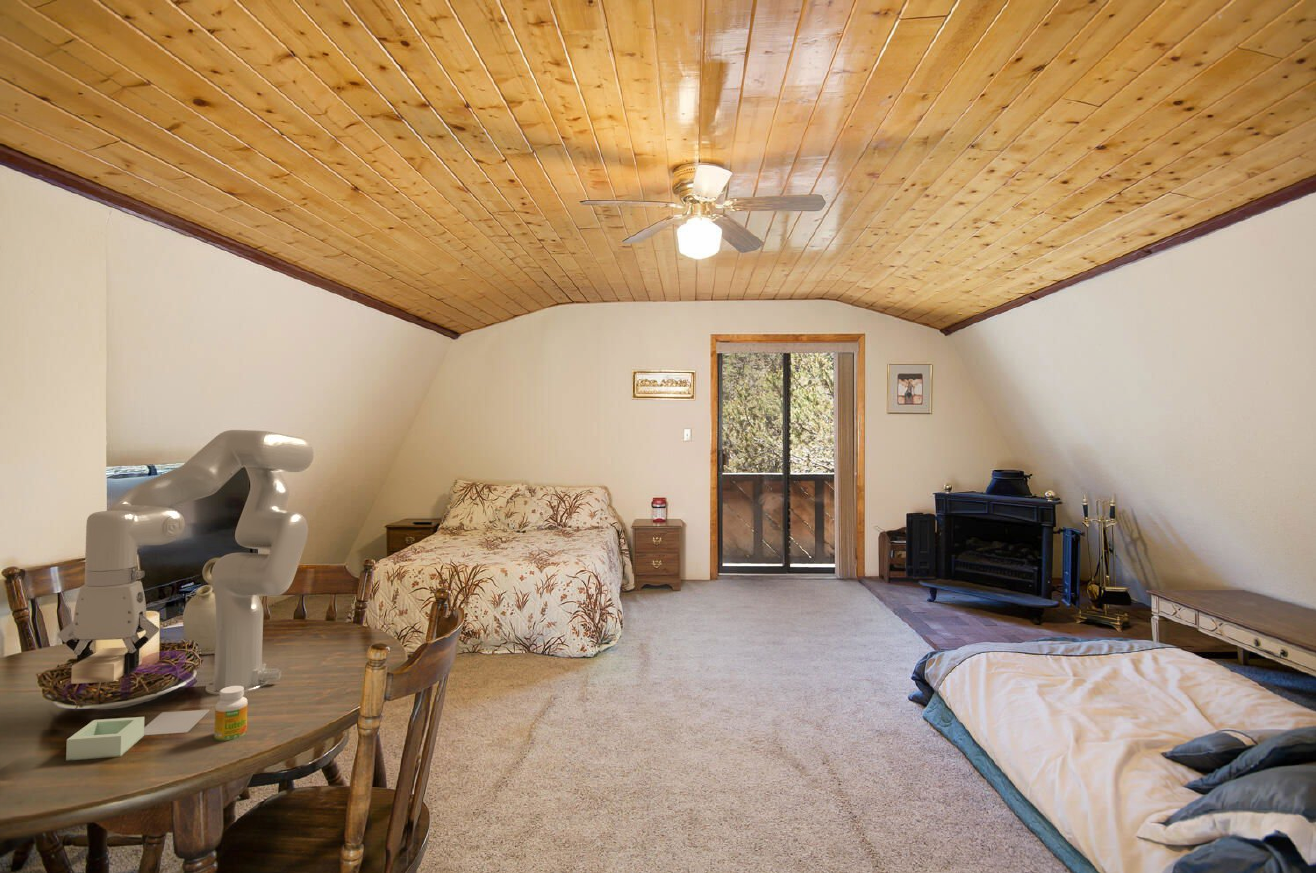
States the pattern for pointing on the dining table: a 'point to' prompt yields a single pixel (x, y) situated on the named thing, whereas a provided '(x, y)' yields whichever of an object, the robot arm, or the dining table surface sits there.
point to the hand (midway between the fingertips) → (108, 672)
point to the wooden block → (101, 666)
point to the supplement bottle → (231, 714)
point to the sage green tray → (105, 738)
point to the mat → (174, 722)
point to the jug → (202, 614)
